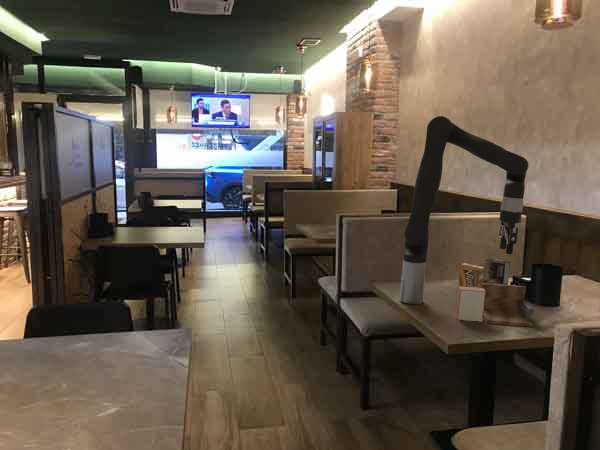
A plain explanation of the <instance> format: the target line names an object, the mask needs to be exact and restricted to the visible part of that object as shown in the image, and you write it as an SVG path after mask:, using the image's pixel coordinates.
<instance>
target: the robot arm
mask: <svg viewBox="0 0 600 450" xmlns="http://www.w3.org/2000/svg"><path fill="white" fill-rule="evenodd" d="M425 136H426V137H425V143H424V149H423V150H424V151H423V154H422V158H421V161H420V163H419V167H418V171H417V174H416V180H415V184H414V188H413V189H414V190H413V195H412V197H413V198H412V207H411V211H410V215H409V218H408V222H407V225H406V227H405V229H404V235H403V236H404V239H405V240H404V247H403V248H404V250H403V255H402V258H403V260H402V271H401V278H400V293H399V294H400V295H399V300H400V303H404V304H405V303H406V304H409V305H421V304H422V303H424V292H425V284H426V283H425V282H426V281H425V280H426V266H427V257H428V247H429V236H430V231H429V223H430V217H431V212H432V211H433V208H434V204H435V202H436V199H437V196H438V193H439V189H440V184H441V181H442V174H443V165H444V163H443V161H444V160H443V159H444V153H445V149H446V146H447V143H448V144H452V145H454V146H456V147H459V148H461V149H463V150H465V152H466V151H467V152H468V153H470V154H471V155H474V157H477V158H479V159H481V160H482V161H485V162H487V163H490V164H492V165H494V166H497V167H498V168H500V169H502V170H504V171H505V172H506V174H505V175H506V177H505V183H504V188H503V193H502V194H503V195H502V200H501V205H500V213H499V221H500V228H499V234H498V237H499V239H500V242H499V249H501V250H505V254H507V255H513V252H514V251H513V250H514V245H516V244H517V239H518V233H519V227H516V224H520V223H521V222H522V215H523V208H524V195H525V188H526V187H525V182H526V176H527V171H528V170H529V162H528V160H527V159H526V158H525V157H524V156H521V155H519V154H517V153H514V152H512V151H510V150H507V149H506V148H504V147H503V146H500V145H499V144H496V143H495V142H492V141H489V140H487V139H486V138H483V137H480V136H477V135H475V134H472V133H470V132H468V131H466V130H464V129H463V128H461V127H459V126H458V125H456V124H455V123H453V122H452V121H451V120H450V119H449V118H448V117H446V116H443V115H437V116H434V117H433V118H432V119H430V120H429V122H428V123H427V126H426V133H425Z"/></svg>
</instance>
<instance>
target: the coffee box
mask: <svg viewBox="0 0 600 450" xmlns="http://www.w3.org/2000/svg"><path fill="white" fill-rule="evenodd" d="M483 263H484V264H483V267H484V276H483V283H487V284H500V285H509V278H510V277H509V276H510V269H511V268H510V266H511V261H509V260H503V259H497V258H491V257H489V258H487V259H486V260H484V262H483Z"/></svg>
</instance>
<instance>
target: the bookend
mask: <svg viewBox="0 0 600 450" xmlns="http://www.w3.org/2000/svg"><path fill="white" fill-rule="evenodd" d="M482 288H484V290H485V291H486V293H485V303H484V312H483V320H486V321H485V322H486V324H493V325H505V326H517V327H529V328H530V327H531V328H533V327H534V323H533V322H532V321H533V312H534V308H533V307H532V306H531V305H530V304H529V303H528V301H526V300H525V297H526V290H527V288H526V286H525V285H513V284H512V285H511V284H508V285H500V284H487V283H482Z"/></svg>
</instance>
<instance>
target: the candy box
mask: <svg viewBox="0 0 600 450" xmlns="http://www.w3.org/2000/svg"><path fill="white" fill-rule="evenodd" d="M458 276H459V277H458V286H462V287H475V288H482V283H483V276H484V266H479V265H474V264H470V263H461V264H460V265H459V275H458Z"/></svg>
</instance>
